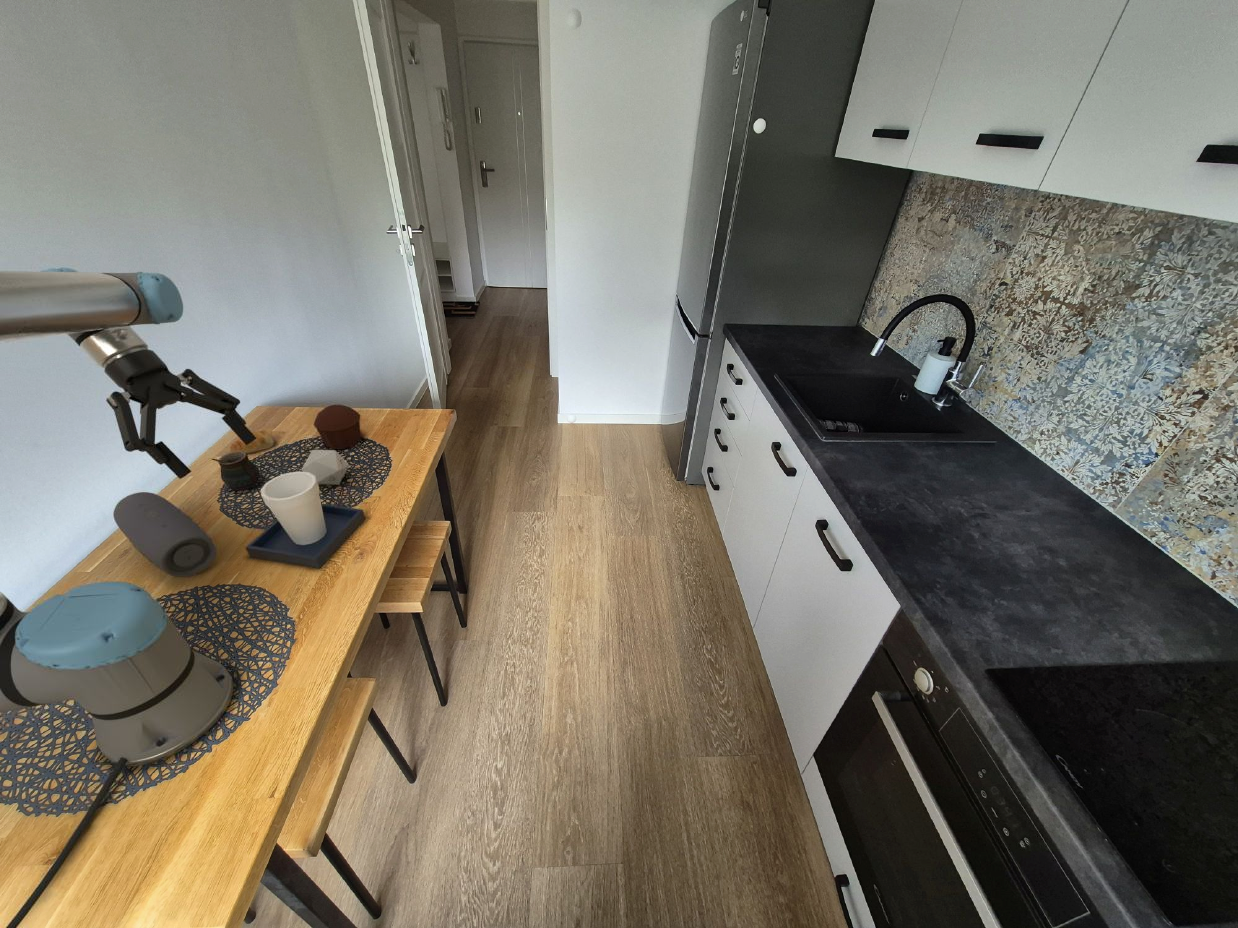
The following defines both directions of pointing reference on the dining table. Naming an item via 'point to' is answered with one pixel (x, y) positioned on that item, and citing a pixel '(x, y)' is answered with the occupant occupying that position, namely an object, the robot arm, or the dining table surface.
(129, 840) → the dining table surface
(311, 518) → the foam cup
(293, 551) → the tray
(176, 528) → the bluetooth speaker
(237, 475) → the dark brown pitcher
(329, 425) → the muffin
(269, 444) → the pastry
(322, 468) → the die
